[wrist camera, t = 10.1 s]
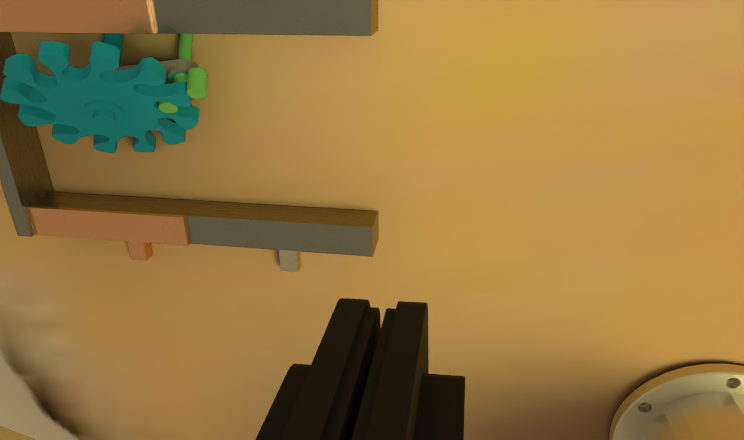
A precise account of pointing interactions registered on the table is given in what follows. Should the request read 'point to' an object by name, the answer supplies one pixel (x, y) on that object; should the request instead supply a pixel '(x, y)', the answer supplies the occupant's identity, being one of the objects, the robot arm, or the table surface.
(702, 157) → the table surface
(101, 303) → the table surface
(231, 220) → the rail
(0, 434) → the dish with food
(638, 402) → the robot arm
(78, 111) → the gear
